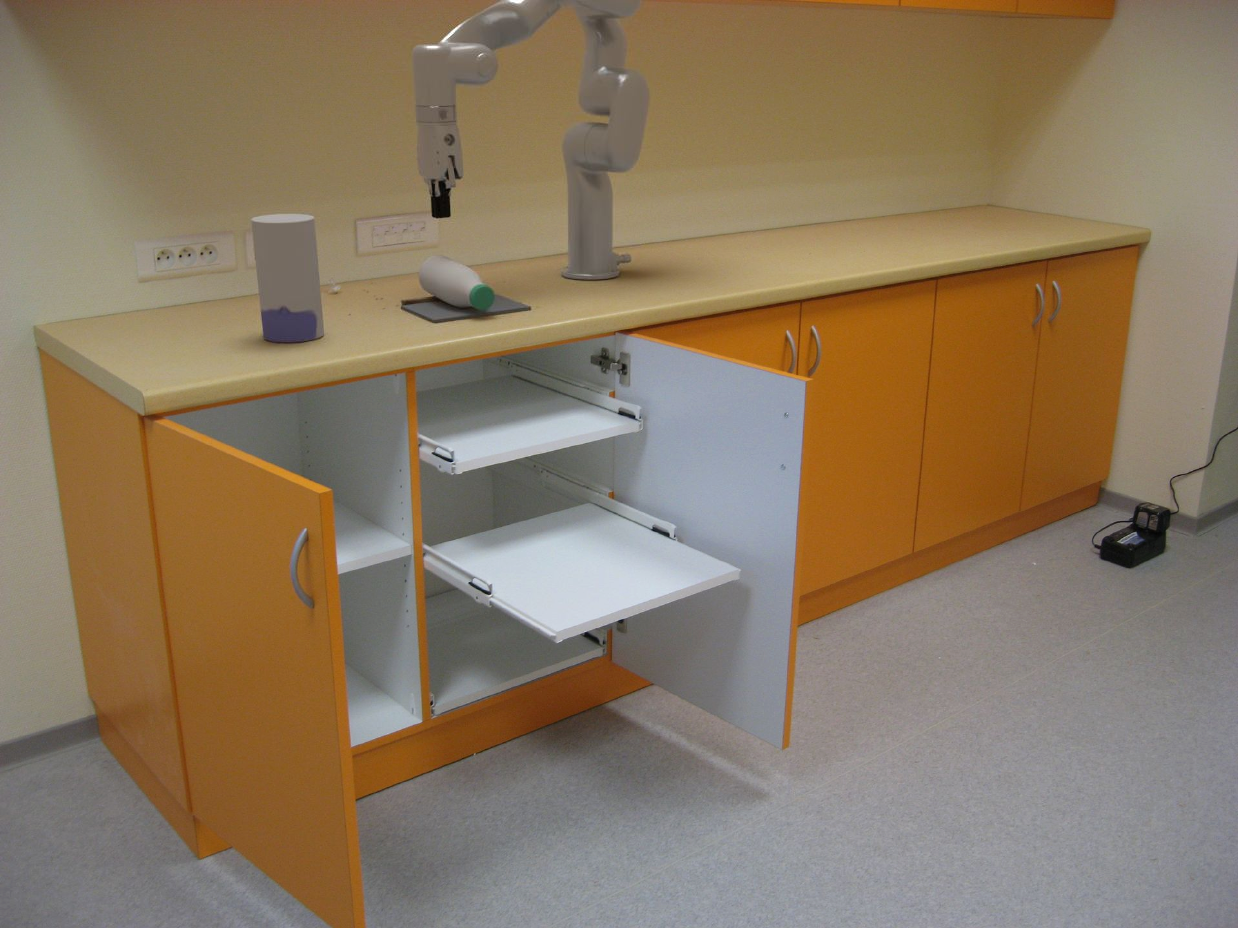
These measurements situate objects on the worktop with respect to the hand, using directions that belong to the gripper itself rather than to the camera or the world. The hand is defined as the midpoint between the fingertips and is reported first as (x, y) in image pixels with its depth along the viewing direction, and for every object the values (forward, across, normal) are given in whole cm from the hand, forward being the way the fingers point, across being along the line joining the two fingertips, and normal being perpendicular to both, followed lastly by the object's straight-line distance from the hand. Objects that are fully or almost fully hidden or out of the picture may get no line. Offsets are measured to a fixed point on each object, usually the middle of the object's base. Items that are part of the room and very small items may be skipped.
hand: (441, 217), depth 217 cm
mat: (+16, -9, 0) cm, 18 cm away
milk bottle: (+11, +2, +1) cm, 11 cm away
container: (+16, -11, +34) cm, 39 cm away
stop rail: (+16, 0, 0) cm, 16 cm away
